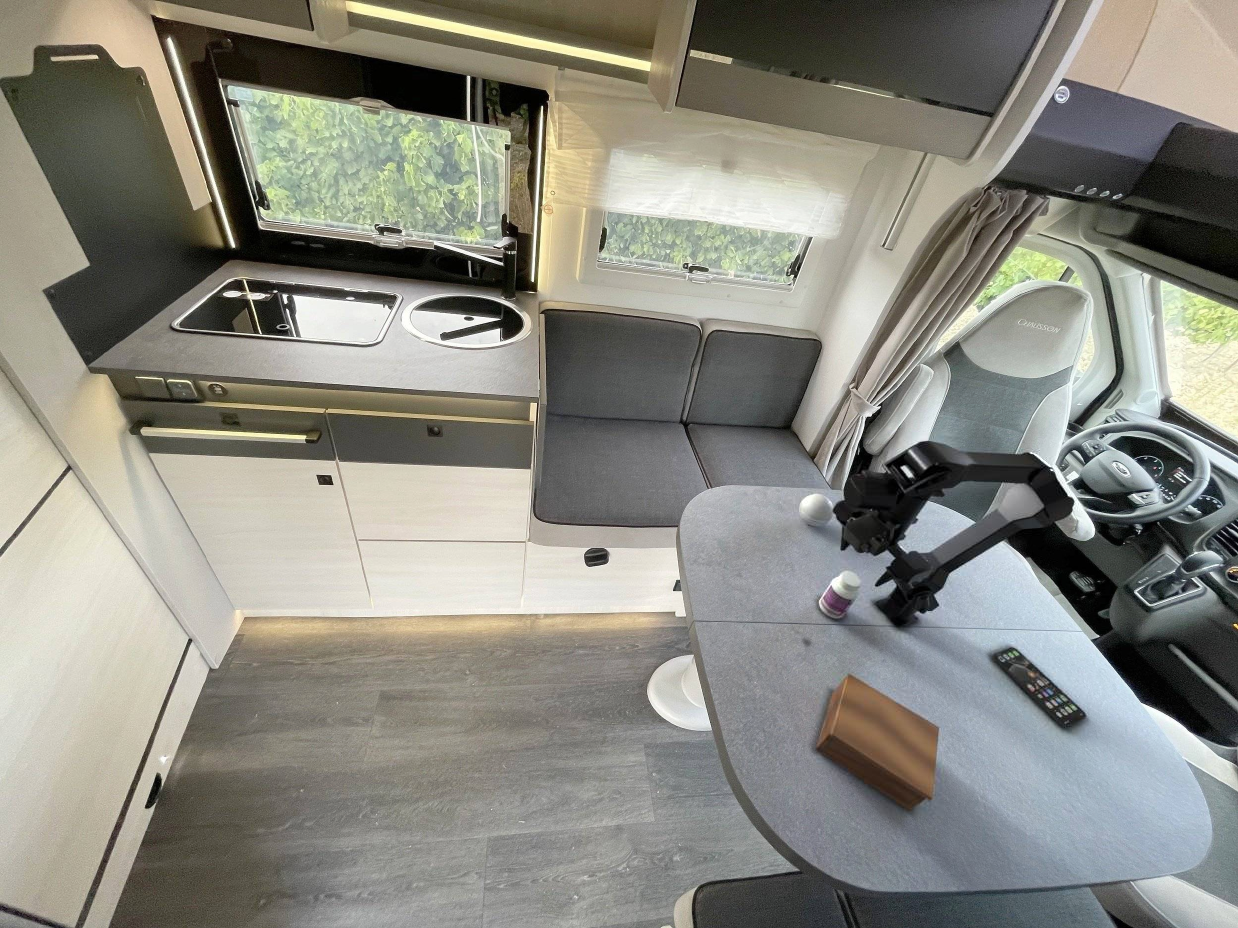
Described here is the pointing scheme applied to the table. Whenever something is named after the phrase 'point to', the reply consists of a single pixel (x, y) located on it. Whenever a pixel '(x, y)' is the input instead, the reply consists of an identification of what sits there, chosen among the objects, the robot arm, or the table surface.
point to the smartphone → (1039, 687)
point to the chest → (862, 761)
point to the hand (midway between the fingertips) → (859, 567)
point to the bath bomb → (816, 510)
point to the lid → (887, 735)
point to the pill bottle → (840, 594)
